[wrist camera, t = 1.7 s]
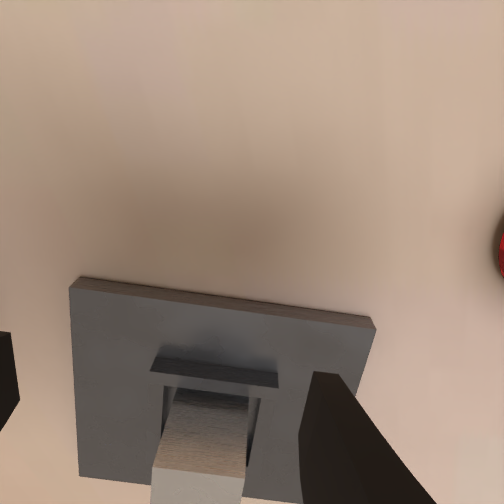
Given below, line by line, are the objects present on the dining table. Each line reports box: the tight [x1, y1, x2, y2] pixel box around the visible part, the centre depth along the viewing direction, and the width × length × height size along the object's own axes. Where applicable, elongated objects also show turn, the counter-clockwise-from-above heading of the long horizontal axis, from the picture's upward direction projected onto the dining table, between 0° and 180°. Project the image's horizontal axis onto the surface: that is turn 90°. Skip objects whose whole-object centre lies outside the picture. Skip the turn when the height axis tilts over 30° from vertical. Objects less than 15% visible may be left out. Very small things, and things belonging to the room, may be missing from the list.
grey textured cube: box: [150, 387, 249, 504], centre depth 18 cm, size 4×4×5 cm
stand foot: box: [69, 277, 376, 504], centre depth 21 cm, size 16×14×2 cm
